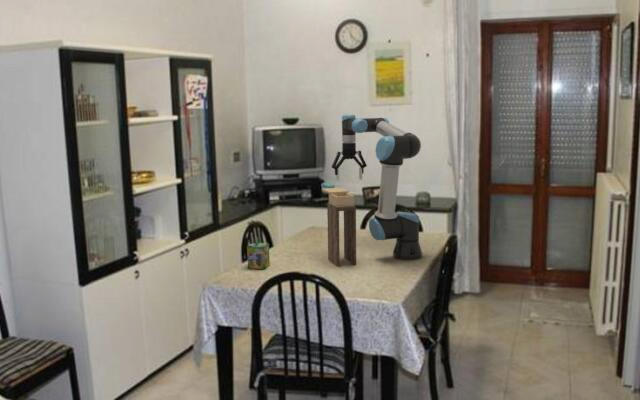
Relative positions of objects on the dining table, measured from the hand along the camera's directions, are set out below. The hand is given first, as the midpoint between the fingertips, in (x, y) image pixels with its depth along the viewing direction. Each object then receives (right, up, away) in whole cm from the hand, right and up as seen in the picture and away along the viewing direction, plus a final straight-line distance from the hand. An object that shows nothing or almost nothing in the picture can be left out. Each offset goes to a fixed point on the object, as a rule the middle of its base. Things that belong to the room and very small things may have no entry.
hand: (349, 180), depth 356 cm
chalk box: (-47, -45, -40) cm, 77 cm away
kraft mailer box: (-6, -13, -39) cm, 42 cm away
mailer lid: (-10, -6, -26) cm, 28 cm away
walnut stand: (-5, -43, -35) cm, 55 cm away
